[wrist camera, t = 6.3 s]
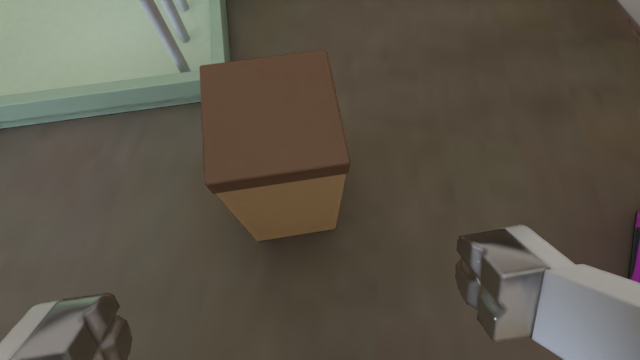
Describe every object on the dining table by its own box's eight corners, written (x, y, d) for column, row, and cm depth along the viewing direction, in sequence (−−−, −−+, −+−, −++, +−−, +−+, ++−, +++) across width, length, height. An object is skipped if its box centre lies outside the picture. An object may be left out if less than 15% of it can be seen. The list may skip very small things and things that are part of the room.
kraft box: (256, 242, 21) (204, 185, 11) (248, 168, 22) (198, 64, 13) (336, 229, 21) (351, 163, 12) (323, 157, 23) (326, 48, 13)
